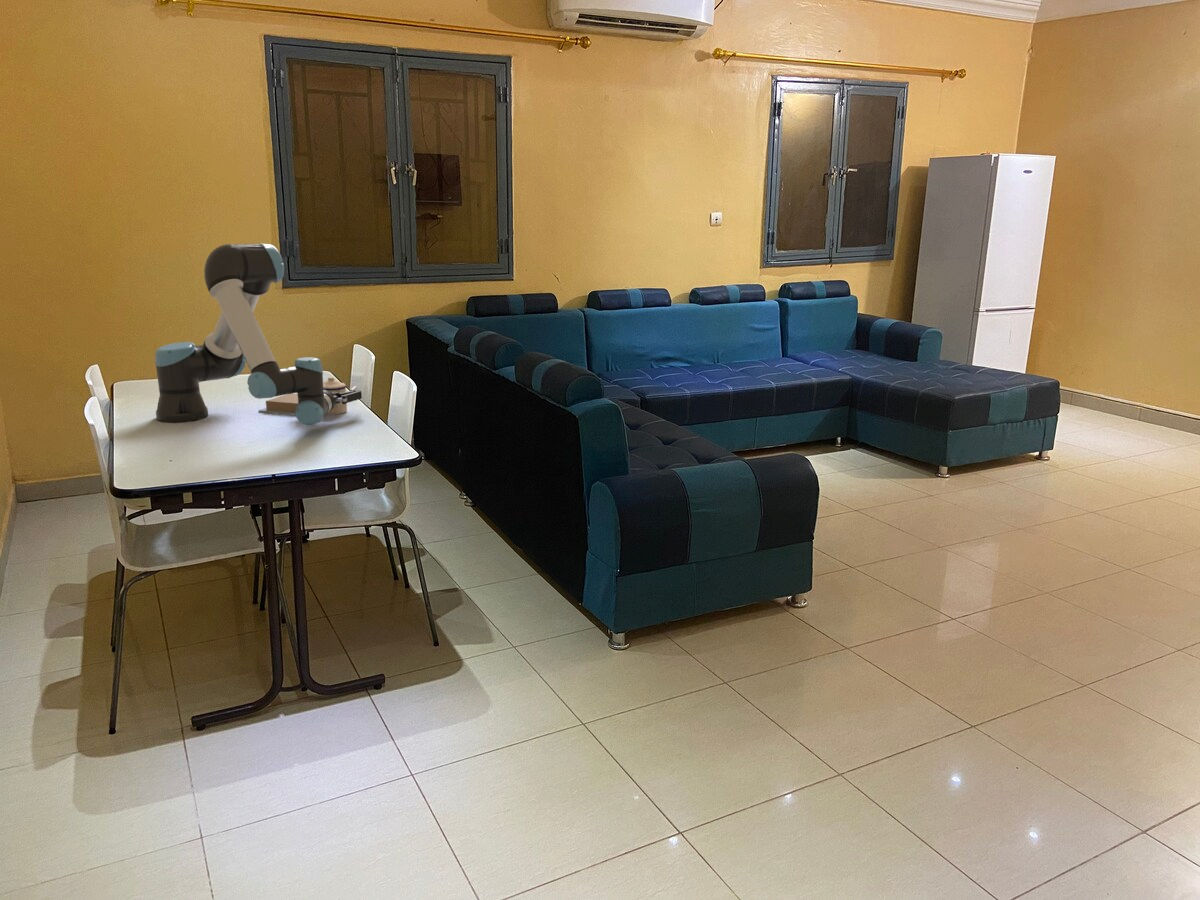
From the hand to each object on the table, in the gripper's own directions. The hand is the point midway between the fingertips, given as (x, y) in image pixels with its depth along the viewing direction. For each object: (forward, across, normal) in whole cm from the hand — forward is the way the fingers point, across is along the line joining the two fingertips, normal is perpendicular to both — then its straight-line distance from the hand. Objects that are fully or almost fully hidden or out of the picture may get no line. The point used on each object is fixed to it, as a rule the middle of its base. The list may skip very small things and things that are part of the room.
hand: (335, 390), depth 291 cm
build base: (+3, -15, -7) cm, 17 cm away
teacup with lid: (-3, 0, -7) cm, 8 cm away
